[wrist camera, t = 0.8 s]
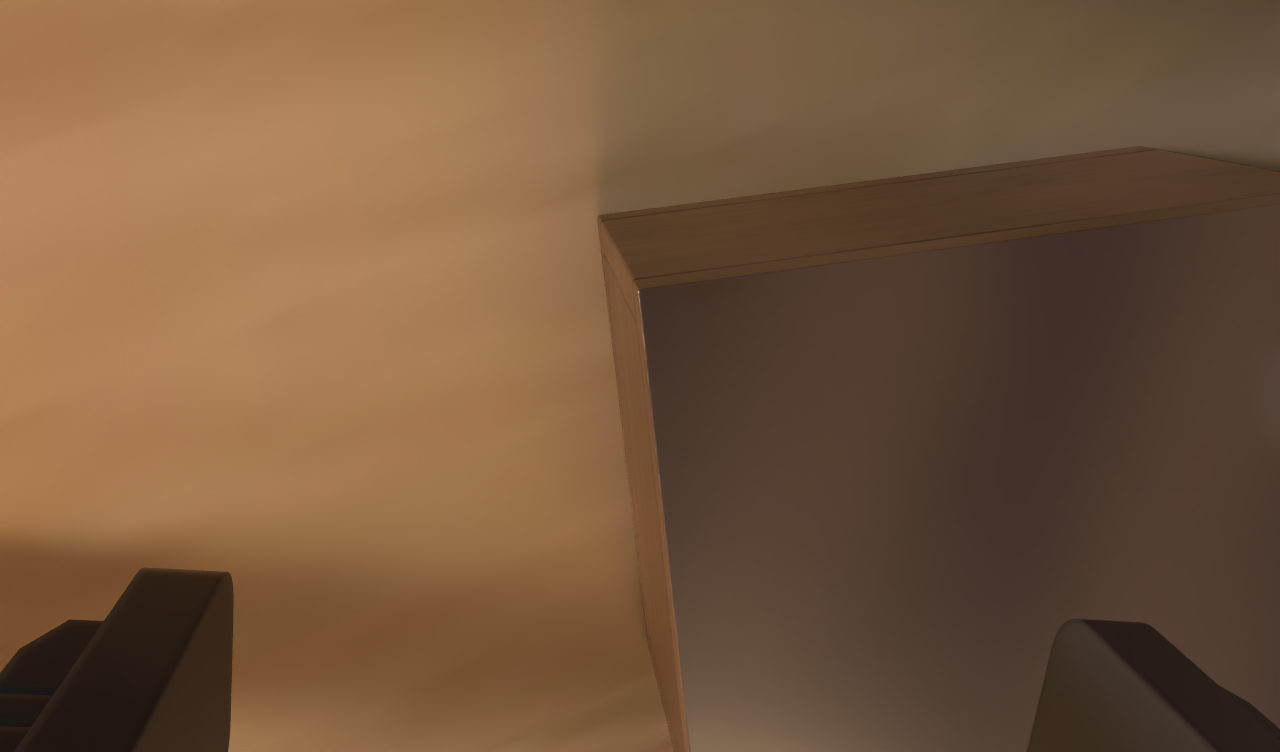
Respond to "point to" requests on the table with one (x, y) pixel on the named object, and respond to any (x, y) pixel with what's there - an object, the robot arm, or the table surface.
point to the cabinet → (948, 442)
